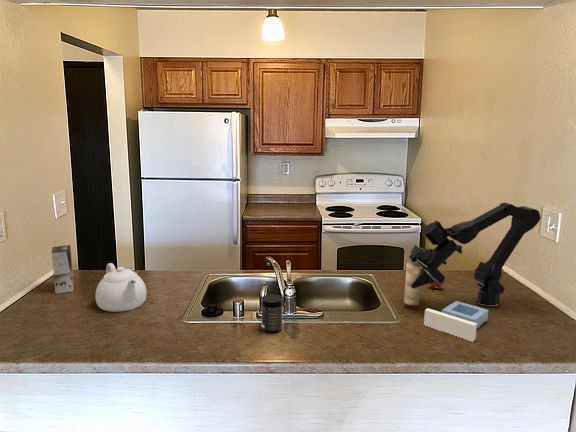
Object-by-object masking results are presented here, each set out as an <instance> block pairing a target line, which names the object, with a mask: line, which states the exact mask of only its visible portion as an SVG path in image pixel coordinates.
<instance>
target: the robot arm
mask: <svg viewBox="0 0 576 432" xmlns="http://www.w3.org/2000/svg"><path fill="white" fill-rule="evenodd" d="M509 216H510V217H511V222H510V223H511V224H510V227H509V229H508V230H507V232H506V234H505V235H504V237H503V238H502V240H501V242H500V243H499V245H498V246H497V247H496V249H495V250H494V252H493V254H492V255H491V257H490V258H489V259H488V261H486V262H483V261H480V262H479V264H478V265H477V267H476V268H475V269H474V274H473V278H474V280H475V281H474V282H476V284H477V286H478V287H480V288H479V290H478V291H479V292H478V293H477V299H476V303H477V302H478V303H480V304H485V305H496V304H500V298H501V296H500V295H501V294H503V293H504V291H505V290H506V289H505V287H504V286H503V285H502V283H500V280H501V278H502V274H503V273H502V272H503V267H504V265H505V264H506V262H507V261H508V259H509V257H510V256H511V255H512V254H513V252H514V250H515V248H516V247H517V246H518V245H519V242H520V241H521V239H523V237H524V235H525V234H527V233H528V232H530V231H532V230H533V229H534V228H535V227H536V226H537V225H538V224H539V223H540V221H541V218H542V216H541V213H540V211H539V210H538V209H536V208H532V207H529V206H525V205H521V206H515V205H514V204H512V203H508V202H501V203H500V204H499V205H497V206H495V207H494V208H491V209H490V210H488V211H487V212H485V213H483V214H481V215H479V216H478V217H475V218H474V219H472V220H468V221H467V220H466V221H462V222H459V223H456V224H453V225H452V226H451V227H446V228H445V227H444V226H443V225H442V223H441V222H440V221H438V220H434V221H433V222H431V223H428V224H426V225H425V226H424V227H423V228H422V230H421V234H422V236H424V237H425V238H426V240H428V241H429V242H430V244H431V245H433V246H435V247H434V248H433V249H432V248H426V247H424V248H423V247H420V246H417V245H413V247H412V249H411V251H410V255H409V256H408V259H409V260H410V262H414V263H419V264H421V274H420V276H419V277H418V278H417V279H416V280H415V282H414V283H413V284H412V285H411V287H412V288H416V287H419V286H420V287H422V286H425V285H430V283H433V282H434V283H435V281H434V280H435V279H436V281H437V282H438V283H440V284H442V283H443V282H444V283H445V281H446V276H445V275H444V274H443V273H442V272H441V271H440V270H439V268H441V266H442V265H444V266H445V265H447V263H448V262H447V260H448V259H449V258H451V256H452V255H453V254H454V253H455V252H456V253H458V254H459V255H461V254H463V250H462V249H463V246H462V245H467V244H469V243H471V242H472V241H473V240H474V239H475V238H477V237H478V235H479V233H481V232H482V231H484V230H485V229H487V228H489V227H491V226H493V225H494V224H496V223H498V222H499V221H502V220H504V219H506V218H507V217H509ZM449 238H450V239H449ZM456 242H457V243H460V244H461V245H460V244H457V243H456ZM478 303H477V304H478Z"/></svg>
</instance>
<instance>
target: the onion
mask: <svg viewBox="0 0 576 432" xmlns="http://www.w3.org/2000/svg"><path fill="white" fill-rule="evenodd" d="M434 281H435V283H434V282H433V283H429V285H430V286H431V287H432V286H433V287H439V288H440V287H442V286H443V285H444V283H445V281H444V282H443V283H442V284H440V283H438V282H437V281H436V279H435V280H434ZM433 287H432V288H433Z"/></svg>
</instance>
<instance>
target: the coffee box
mask: <svg viewBox="0 0 576 432" xmlns="http://www.w3.org/2000/svg"><path fill="white" fill-rule="evenodd" d="M51 257H52V268H53V270H52V271H53V281H54V290H55V293H54V294H61V293H62V294H63V293H70V292H71V293H72V292H74V274H73V273H74V271H73V262H72V250H71V245H70V244H69V245H68V244H67V245H58V246H52V249H51Z"/></svg>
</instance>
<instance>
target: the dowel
mask: <svg viewBox="0 0 576 432" xmlns="http://www.w3.org/2000/svg"><path fill="white" fill-rule="evenodd" d="M405 266H406V268H405V280H404V284H405V285H404V296H403V297H404V300H403V303H404V304H406V305H408V306H419V302H420V288H421V286H419V287H416V288H412V287H411V285H412V284H413V283H414V282H415V280H416V279H417V278H418V277H419V276H420V274H421V264H419V263H414V262H411V261H409V262H407V263H406V265H405Z"/></svg>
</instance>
